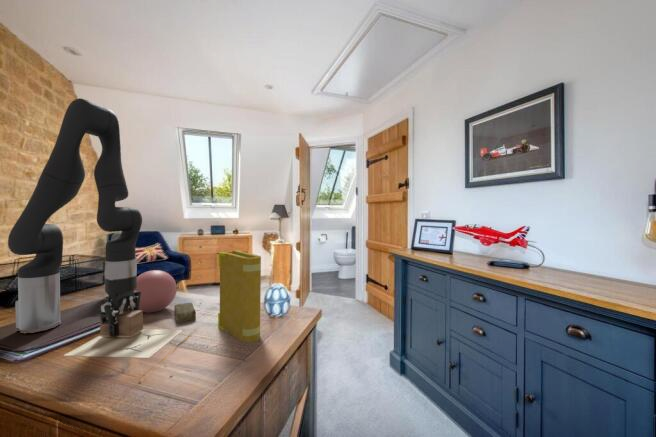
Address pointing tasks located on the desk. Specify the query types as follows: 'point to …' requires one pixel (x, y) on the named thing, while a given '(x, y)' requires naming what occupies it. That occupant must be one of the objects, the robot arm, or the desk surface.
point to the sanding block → (125, 324)
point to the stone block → (184, 312)
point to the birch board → (127, 344)
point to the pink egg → (155, 290)
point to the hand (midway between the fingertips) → (121, 331)
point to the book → (240, 294)
